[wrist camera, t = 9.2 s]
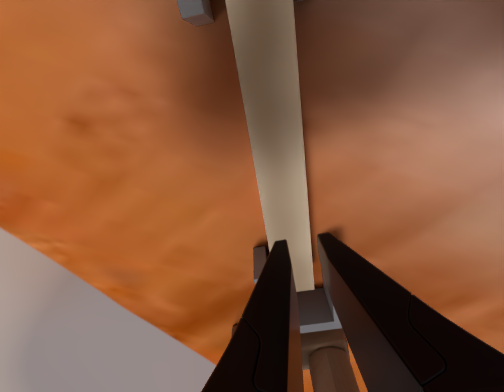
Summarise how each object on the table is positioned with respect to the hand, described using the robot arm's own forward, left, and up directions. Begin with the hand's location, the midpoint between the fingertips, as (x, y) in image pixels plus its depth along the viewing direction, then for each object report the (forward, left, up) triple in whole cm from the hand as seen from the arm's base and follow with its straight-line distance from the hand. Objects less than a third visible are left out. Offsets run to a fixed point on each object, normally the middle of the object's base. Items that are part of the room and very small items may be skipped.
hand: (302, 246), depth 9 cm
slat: (0, 0, -10) cm, 10 cm away
